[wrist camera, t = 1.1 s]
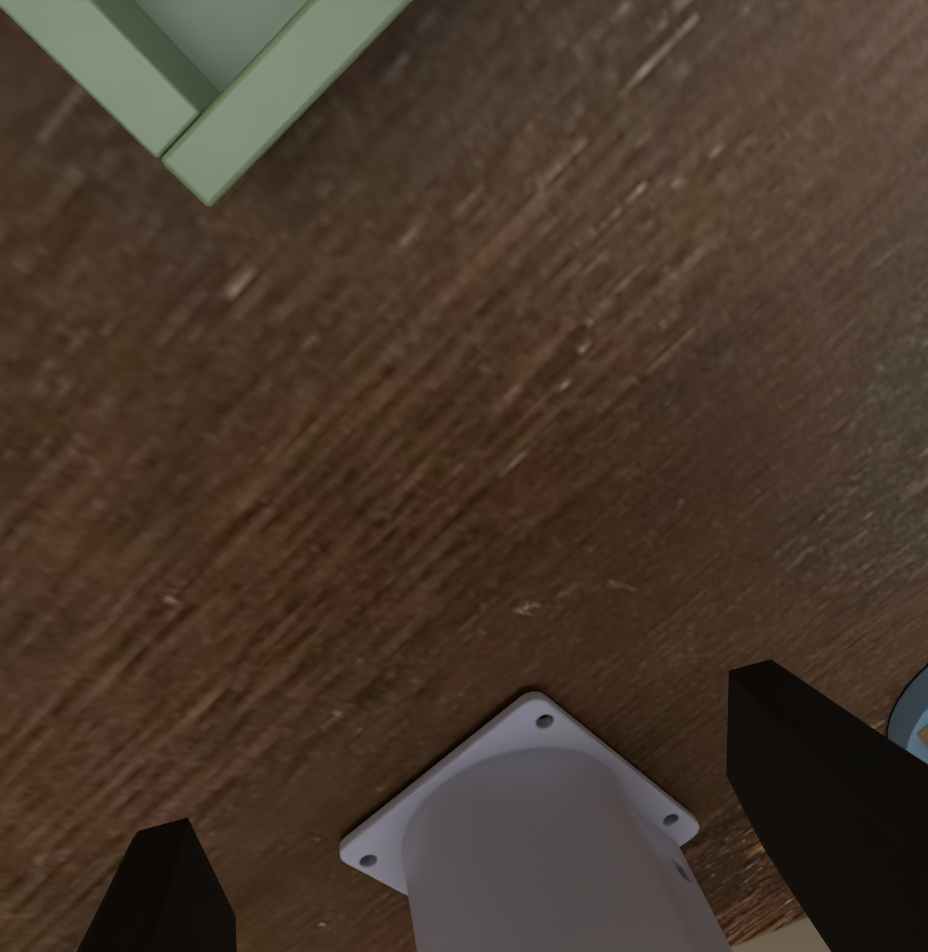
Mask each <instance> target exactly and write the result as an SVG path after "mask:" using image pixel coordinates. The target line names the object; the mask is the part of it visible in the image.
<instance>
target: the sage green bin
mask: <svg viewBox="0 0 928 952" xmlns="http://www.w3.org/2000/svg"><path fill="white" fill-rule="evenodd" d="M413 1H414V0H0V8H1V9H2V10H3V11H4V12H5V13H6V14H7V15H8V16H9V17H10V18H11V19H12V20H13V21H14V22H15V23H16V24H17V25H18V26H19V27H20V28H21V29H22V30H23V31H24V32H26V33H27V34H28V35H29V36H30V37H31V38H32V39H33V40H34V41H35V42H36V43H37V44H38V45H39V46H40V47H41V48H42V49H43V50H44V51H45V52H46V53H47V54H48V55H49V56H50V57H51V58H52V59H53V60H54V61H55V62H56V63H57V64H58V65H60V66H61V67H62V68H63V69H64V70H65V71H66V72H67V73H68V74H69V75H70V76H71V77H72V78H73V79H74V80H75V81H76V82H77V83H78V84H79V85H80V86H81V87H82V88H83V89H84V90H85V91H86V92H87V93H88V94H89V95H90V96H91V97H93V98H94V99H95V100H96V101H97V102H98V103H99V104H100V105H101V106H102V107H103V108H104V109H105V110H106V111H107V112H108V113H109V114H110V115H111V116H112V117H113V118H114V119H115V120H116V121H117V122H118V123H119V124H120V125H121V126H122V127H123V128H124V129H125V130H127V131H128V132H129V133H130V134H131V135H132V136H133V137H134V138H135V139H136V140H137V141H138V142H139V143H140V144H141V145H142V146H143V147H144V148H145V149H146V150H147V151H148V152H149V153H150V154H151V155H152V156H153V157H155V158H159V157H161V156H162V158H161V161H162V163H163V165H164V167H165V168H166V169H168V170H169V171H170V172H171V173H172V174H173V175H174V176H175V177H176V178H177V179H178V180H179V181H180V182H181V183H182V184H183V185H184V186H185V187H186V188H187V189H188V190H189V191H190V192H191V193H192V194H193V195H194V196H195V197H196V198H197V199H198V200H199V201H200V202H202V203H203V204H204V205H206V206H208V207H211V206H213V205H215V204H216V203H217V202H218V201H219V200H220V199H221V198H222V197H223V196H224V195H225V194H226V193H227V192H228V191H229V190H230V189H231V188H232V187H233V186H234V185H235V184H236V183H237V182H238V181H239V179H240V178H241V177H242V176H243V175H244V174H245V173H246V172H247V171H248V170H249V169H250V168H251V167H252V166H253V165H254V164H255V163H256V162H257V161H258V160H259V159H260V158H261V157H262V156H263V155H264V154H265V153H266V152H267V151H268V150H269V149H270V148H271V147H272V146H273V145H274V144H275V142H276V141H277V140H278V139H279V138H280V137H281V136H282V135H283V134H284V133H285V132H286V131H287V130H288V129H289V128H290V127H291V126H292V125H293V124H294V123H295V122H296V121H297V120H298V119H299V118H300V117H301V116H302V115H303V114H304V113H305V112H306V111H307V110H308V109H309V108H310V106H311V105H312V104H313V103H314V102H315V101H316V100H317V99H318V98H319V97H320V96H321V95H322V94H323V93H324V92H325V91H326V90H327V89H328V88H329V87H330V86H331V85H332V84H333V83H334V82H335V81H336V80H337V79H338V78H339V77H340V76H341V75H342V74H343V73H344V72H345V71H346V69H347V68H348V67H349V66H350V65H351V64H352V63H353V62H354V61H355V60H356V59H357V58H358V57H359V56H360V55H361V54H362V53H363V52H364V51H365V50H366V49H367V48H368V47H369V46H370V45H371V44H372V43H373V42H374V41H375V40H376V39H377V38H378V37H379V36H380V35H381V33H382V32H383V31H384V30H385V29H386V28H387V27H388V26H389V25H390V24H391V23H392V22H393V21H394V20H395V19H396V18H397V17H398V16H399V15H400V14H401V13H402V12H403V11H404V10H405V9H406V8H407V7H408V6H409V5H410V4H411V3H412V2H413Z"/></svg>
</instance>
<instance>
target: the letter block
mask: <svg viewBox="0 0 928 952" xmlns="http://www.w3.org/2000/svg"><path fill="white" fill-rule="evenodd" d="M917 735H918V737H919V738H920V739H921V741H922V742H923V743H924V744H925V746H926V747H927V748H928V726H926V727H925V728H924V729H922V730H921V731H919V732H918V733H917Z"/></svg>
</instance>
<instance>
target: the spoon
mask: <svg viewBox="0 0 928 952" xmlns="http://www.w3.org/2000/svg"><path fill="white" fill-rule="evenodd" d="M926 726H928V667H927V668H926V669H925V670H923V671H922V672H921V673H920V674H919V675H918V676H917V677H916V678H915V680H914V681H913V682H912V683H911V684H910V685H909V687H908V688H907V689H906V690H905V692H904V693H903V695H902V696H901V698H900V699H899V701H898V703H897V705H896V707H895V709H894V711H893V713H892V716H891V719H890V722H889V727H888V739H890V740H891V741H893V742H894V743H896V744H897V745H899V746H900V747H902V748H904V749H905V750H907V751H908V752H910V753H911V754H913V755H915V756H916V757H918V758H919V759H921V760H922V761H924V762H925V763H927V764H928V748H927V747H926V746H925V744H924V743H923V742H922V741H921V739H920V738H919V737H918V735H917V733H918V732H919V731H921V730H922V729H924V728H925V727H926Z"/></svg>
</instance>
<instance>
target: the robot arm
mask: <svg viewBox="0 0 928 952" xmlns="http://www.w3.org/2000/svg"><path fill="white" fill-rule="evenodd" d="M543 715H547V716H545V717H543V718H539V717H541V716H543ZM538 718H539V719H538ZM726 775H727V777H728V779H729V781H730V783H731V785H732V787H733V789H734V791H735V793H736V795H737V797H738V799H739V801H740V803H741V805H742V808H743V810H744V812H745V814H746V816H747V817H748V819H749V821H750V823H751V825H752V827H753V829H754V831H755V833H756V835H757V836H758V838H759V840H760V842H761V844H762V846H763V848H764V850H765V851H766V853H767V854H768V856H769V857H770V859H771V860H772V862H773V864H774V865H775V867H776V868H777V870H778V871H779V873H780V874H781V876H782V877H783V879H784V881H785V882H786V884H787V885H788V887H789V888H790V890H791V891H792V893H793V894H794V896H795V897H796V899H797V900H798V902H799V904H800V905H801V907H802V908H803V910H804V911H805V913H806V914H807V916H808V917H809V919H810V920H811V922H812V923H813V925H814V926H815V928H816V929H817V931H818V932H819V934H820V935H821V937H822V938H823V940H824V941H825V943H826V944H827V946H828V947H829V949H830V951H831V952H928V764H927V763H925V762H924V761H922V760H921V759H919V758H918V757H916V756H915V755H913V754H911V753H910V752H908V751H907V750H905V749H904V748H902V747H900V746H899V745H897V744H896V743H894V742H893V741H891V740H890V739H888V738H887V737H885V736H884V735H882V734H881V733H879V732H878V731H876V730H875V729H873V728H872V727H870V726H869V725H867V724H866V723H864V722H863V721H861V720H860V719H858V718H857V717H855V716H854V715H852V714H851V713H849V712H848V711H846V710H845V709H843V708H842V707H840V706H839V705H838V704H836V703H835V702H833V701H832V700H830V699H829V698H827V697H826V696H824V695H823V694H821V693H820V692H819V691H817V690H816V689H814V688H813V687H811V686H810V685H808V684H807V683H805V682H804V681H802V680H801V679H800V678H798V677H797V676H795V675H794V674H792V673H791V672H789V671H788V670H786V669H785V668H783V667H782V666H780V665H779V664H777V663H776V662H774V661H773V660H771V659H770V660H767V661H763V662H759V663H756V664H752V665H748V666H745V667H741V668H737V669H734V670H730V671H729V688H728V730H727V773H726ZM698 830H699V824H698V822H697V820H696V818H695V817H694V815H693V814H692V813H690V812H689V811H688V810H687V809H686V808H684V807H683V806H682V805H681V804H679V803H678V802H677V801H676V800H674V799H673V798H672V797H671V796H669V795H668V794H667V793H666V792H665V791H663V790H662V789H661V788H660V787H658V786H657V785H656V784H655V783H653V782H652V781H651V780H650V779H648V778H647V777H646V776H645V775H643V774H642V773H641V772H640V771H639V770H637V769H636V768H635V767H634V766H632V765H631V764H630V763H629V762H627V761H626V760H625V759H624V758H622V757H621V756H620V755H619V754H618V753H616V752H615V751H614V750H613V749H611V748H610V747H609V746H608V745H606V744H605V743H604V742H603V741H601V740H600V739H599V738H598V737H597V736H595V735H594V734H593V733H592V732H590V731H589V730H588V729H587V728H585V727H584V726H583V725H582V724H580V723H579V722H578V721H577V720H575V719H574V718H573V717H572V716H571V715H569V714H568V713H567V712H566V711H564V710H563V709H562V708H561V707H559V706H558V705H557V704H556V703H554V702H553V701H552V700H551V699H550V698H548V697H547V696H546V695H545V694H543V693H541V692H534V691H533V692H528V693H526V694H524V695H522V696H521V697H519V698H518V699H517V700H516V701H514V702H513V703H512V704H511V705H509V706H508V707H507V708H506V709H504V710H503V711H502V712H501V713H499V714H498V715H497V716H496V717H494V718H493V719H492V720H491V721H489V722H488V723H487V724H486V725H484V726H483V727H482V728H481V729H479V730H478V731H477V732H476V733H474V734H473V735H472V736H471V737H469V738H468V739H467V740H466V741H464V742H463V743H462V744H461V745H459V746H458V747H457V748H456V749H454V750H453V751H452V752H451V753H449V754H448V755H447V756H446V757H444V758H443V759H442V760H441V761H439V762H438V763H437V764H436V765H434V766H433V767H432V768H431V769H429V770H428V771H427V772H426V773H424V774H423V775H422V776H421V777H419V778H418V779H417V780H416V781H414V782H413V783H412V784H411V785H409V786H408V787H407V788H406V789H405V790H403V791H402V792H401V793H400V794H398V795H397V796H396V797H395V798H393V799H392V800H391V801H390V802H388V803H387V804H386V805H385V806H383V807H382V808H381V809H380V810H378V811H377V812H376V813H375V814H373V815H372V816H371V817H370V818H368V819H367V820H366V821H365V822H363V823H362V824H361V825H360V826H358V827H357V828H356V829H355V830H353V831H352V832H351V833H350V834H348V835H347V836H346V837H345V838H344V839H343V840H342V841H341V842H340V845H339V851H340V858H341V860H342V861H343V862H345V863H346V864H348V865H350V866H352V867H354V868H356V869H358V870H360V871H362V872H363V873H365V874H367V875H369V876H371V877H373V878H375V879H377V880H379V881H380V882H382V883H384V884H386V885H388V886H390V887H392V888H394V889H396V890H397V891H399V892H401V893H403V894H405V895H407V896H408V898H409V905H410V911H411V917H412V924H413V930H414V937H415V943H416V950H417V952H733V951H732V949H731V947H730V945H729V943H728V941H727V939H726V937H725V935H724V933H723V931H722V929H721V927H720V925H719V924H718V922H717V920H716V918H715V916H714V914H713V912H712V910H711V908H710V906H709V904H708V902H707V900H706V898H705V896H704V894H703V892H702V890H701V888H700V887H699V885H698V883H697V881H696V879H695V877H694V875H693V873H692V871H691V869H690V867H689V865H688V863H687V861H686V859H685V857H684V855H683V853H682V851H681V849H680V848H679V847H680V846H682V845H683V844H684V843H686V842H687V841H688V840H690V839H691V838H693V837H694V836H695V835H696V834H697V832H698ZM77 952H237V948H236V917H235V914H234V912H233V910H232V908H231V906H230V904H229V902H228V900H227V898H226V896H225V894H224V891H223V889H222V887H221V885H220V883H219V881H218V879H217V877H216V875H215V873H214V871H213V869H212V867H211V865H210V863H209V861H208V858H207V856H206V854H205V852H204V850H203V848H202V846H201V844H200V842H199V840H198V838H197V836H196V834H195V832H194V830H193V827H192V825H191V823H190V821H189V819H188V818H185V819H181V820H177V821H174V822H170V823H166V824H162V825H159V826H155V827H151V828H148V829H144V830H140V831H138V832H137V833H136V835H135V836H134V838H133V839H132V841H131V843H130V845H129V847H128V849H127V851H126V853H125V855H124V857H123V859H122V861H121V863H120V865H119V867H118V870H117V872H116V874H115V876H114V878H113V880H112V882H111V884H110V886H109V888H108V890H107V892H106V894H105V896H104V898H103V900H102V902H101V904H100V906H99V908H98V910H97V912H96V914H95V916H94V918H93V920H92V922H91V924H90V926H89V928H88V930H87V932H86V934H85V936H84V938H83V940H82V942H81V944H80V946H79V948H78V950H77Z"/></svg>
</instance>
